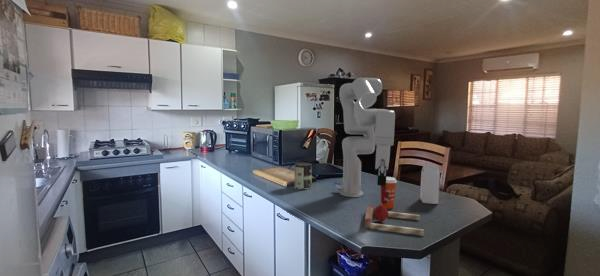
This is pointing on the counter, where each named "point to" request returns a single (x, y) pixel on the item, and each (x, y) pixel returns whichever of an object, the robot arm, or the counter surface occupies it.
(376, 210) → the red apple
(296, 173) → the coffee can
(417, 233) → the wooden u-shaped frame
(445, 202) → the counter surface
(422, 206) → the counter surface
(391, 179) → the paper cup
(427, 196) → the milk carton
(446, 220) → the counter surface
